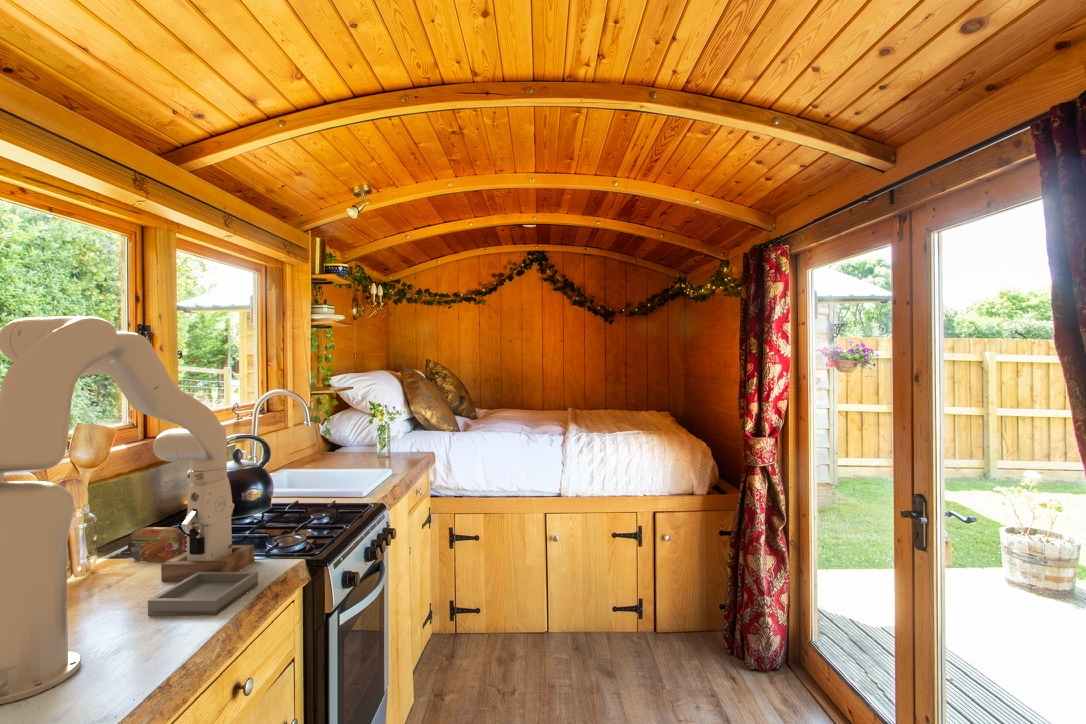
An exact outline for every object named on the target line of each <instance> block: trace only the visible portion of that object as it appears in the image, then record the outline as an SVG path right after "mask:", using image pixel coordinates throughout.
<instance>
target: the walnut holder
mask: <svg viewBox="0 0 1086 724" xmlns="http://www.w3.org/2000/svg"><path fill="white" fill-rule="evenodd" d="M253 562H255V545H254V544H234V545H233V544H232V554H230V555H228V556H227V557H225V558H223V559H221V560H220V561H187V551H184V553H183V554H181V555H179V556H177V557H175V558H173V559H171V560H169V561H167V562H162V563H161V564H160V569H161V571H160V573H161V575H160V576H161V581H183V580H185V579H187V578H188V577H190V576H192V575H194V574H195V573H197V572H237V571H238V572H240V571H241V570H242V569H244V568H245V567H247V566H248V565H250V564H252V563H253ZM240 569H241V570H240ZM161 581H160V582H161Z"/></svg>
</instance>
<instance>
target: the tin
mask: <svg viewBox="0 0 1086 724" xmlns="http://www.w3.org/2000/svg"><path fill="white" fill-rule="evenodd" d="M186 548H187V537H186V534H185V533H184V531H182V530H181V529H179V528H177V527H163V526H162V527H156V526H153V527H152V526H147V527H144V528H139V529H136V530H134V531H133V532H132V533H131V534H130V536H129V538H128V541H127V550H128V554H129V555H130V557H131V558H132V559H133V560H135V561H136V562H139V561H147V562H146V563H165V562H167V561H169V560H171V559H173V558H175V557H177V556H179V555H181V554H183V553H185V552H186Z"/></svg>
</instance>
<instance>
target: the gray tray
mask: <svg viewBox="0 0 1086 724" xmlns="http://www.w3.org/2000/svg"><path fill="white" fill-rule="evenodd" d="M257 585H258V586H259V571H238V572H197V573H195V574H194V575H192V576H190V577H188V578H187V579H185V580H183V581H181V582H177V584H174V585H173V586H171V587H169V588H167V589H166V590H164V591H162V592H160V593H158V594H157V595H155V596H153V597H151V598H150V599H148V600H147V616H148V617H149V616H151V617H152V616H157V617H158V616H160V617H161V616H162V617H163V616H164V617H165V616H166V617H167V616H170V617H172V616H175V617H176V616H178V617H180V616H183V617H184V616H187V617H190V616H189V615H191V617H195V616H194V615H197V616H196V617H199V615H216V616H217V615H219V614H220V613H222V612H223V611H225V610H226V609H227V608H229V607H230V606H231V604H232V603H233V602H234V603H235V601H236V600H237V599H238V600H240V599H241V598H242V597H241V596H243V595H244V596H246V595H247V594H248V593H249V592H251V591H253V590H254V589H255V588H256V587H258V586H257ZM254 587H255V588H254ZM253 588H254V589H253ZM250 590H251V591H250ZM247 592H248V593H247ZM246 593H247V594H246ZM244 596H243V597H244ZM240 597H241V598H240ZM239 598H240V599H239ZM238 600H237V601H238ZM237 601H236V602H237ZM234 603H233V604H234ZM233 604H232V605H233ZM229 605H230V606H229ZM228 606H229V607H228Z"/></svg>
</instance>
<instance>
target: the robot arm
mask: <svg viewBox="0 0 1086 724" xmlns="http://www.w3.org/2000/svg"><path fill="white" fill-rule="evenodd" d="M0 351H1V353H2V354H3V355H4V356H5V358H7V359H8V360H10V362H13V363H11V365H10V367H9V368H8V369H7V371H6V373H5V375H4V377H3V379H2V382H1V386H0V705H3V704H8V703H12V702H17V701H19V700H24V699H26V698H28V697H32V696H34V695H37V694H40V693H42V692H44V691H47V690H49V689H51V688H53V687H55V686H58V685H59V684H61V683H62V682H64V681H66V680H68V679H69V678H70V677H71V676H73V675H74V674H75V673H76V672H77V671H78V670H79V669H80V668H81V665H82V657H81V655H80V653H77V652H74V651H69V632H68V631H69V626H68V625H69V624H68V623H69V622H68V572H67V571H68V568H67V567H68V565H67V562H68V560H67V559H68V557H67V556H68V541H69V534H70V530H71V526H72V522H73V517H74V513H75V500H74V497H73V495H72V494H71V492H70V491H69V490H68V489H67V488H66V487H64V486H62V485H61V484H58V483H54V482H51V481H42V480H13V481H12V480H9V481H4V478H5V474H13V473H14V474H17V473H20V474H21V473H36V472H42V471H46V470H50V469H52V468H54V467H56V466H57V465H58V464H60V463H61V461H63V460H64V457H65V455H66V452H67V448H68V440H69V431H70V419H71V411H72V410H71V409H72V402H73V401H72V400H73V393H74V389H75V386H76V385H77V382H78V380H79V379H80V377H82V376H85V375H86V376H87V375H89V376H91V375H92V376H93V375H96V376H97V375H108V376H110V378H112V381H114V383H115V385H116V386H117V387H118V389H119V390H120V391H121V393H122V394H123V395H124V398H125V399H126V400H127V402H128V403H129V404H130V406H131V408H132V409H133V410H134V411H137V412H139V413H141V414H144V415H146V416H149V417H151V418H155V419H159V420H163V421H166V422H169V423H172V424H175V425H177V426H179V427H181V428H170V429H167V430H164V431H163V432H161V433H159V435H157V436H156V438H155V439H154V441H153V444H152V450H153V454H154V455H155V456H156V457H157V458H158V459H160V460H162V461H165V462H171V463H177V462H179V463H181V462H184V463H185V462H186V463H187V462H189V473H190V475H189V481H190V482H189V484H190V485H189V489H188V498H187V514H186V515H187V516H188V517H185V519H184V521H183V522H182V523H181V528H182V530H183V533H184V535H185V536H186V539H187V538H189V546H190V554H191V555H202V554H204V537H202V534H203V532H204V526H210V525H212V524H215V523H217V522H219V521H221V520H223V519H225V518H227V517H229V516H231V517H232V516H233V511H234V509H235V503H233V495H232V487H231V483H230V480H229V477H228V462H227V460H228V458H227V457H228V455H227V447H228V438H227V430H226V427H225V426H224V425H223V424H221V422H220V420H219V418H218V417H217V415H216V413H214V411H212V410H211V408H209V407H208V406H207V405H205V404H204V403H202V402H201V401H200V400H198V399H196V398H195V397H194V396H192V395H190V394H188V393H187V392H185V391H183V390H181V389H180V388H178V387H177V385H176V384H175V382H174V380H173V379H172V377H171V375H170V374H169V372H168V370H167V369H166V367H165V366H164V363H163V361H162V360H161V358H160V357H159V355H158V354H157V352H156V351H155V348H154V347H153V346H152V343H151V342H150V341H149V340H148V339H147V338H146V336H144V335H142V334H140V333H136V332H131V331H117V329H116V327H115V326H114V324H112V322H110V321H108V320H106V319H103V318H100V317H97V316H89V315H88V316H85V315H82V316H81V315H74V316H72V315H67V316H48V317H47V316H43V317H41V316H40V317H39V316H38V317H36V316H34V317H22V318H17V319H14V320H12V321H10V322H8V323H7V324H6V325H4V326H3V327H2V329H1V330H0ZM197 516H198V519H199V522H200V524H194V520H195V519H196V518H197ZM195 527H199V530H198V532H197V531H196V530H195Z"/></svg>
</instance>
